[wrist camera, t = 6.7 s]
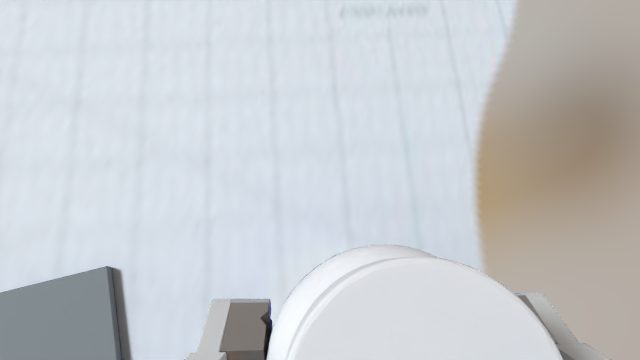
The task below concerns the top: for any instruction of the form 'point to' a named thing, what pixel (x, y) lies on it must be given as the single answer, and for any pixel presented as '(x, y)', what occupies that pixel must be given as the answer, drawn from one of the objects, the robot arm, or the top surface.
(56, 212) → the top surface
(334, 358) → the pill bottle
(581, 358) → the robot arm
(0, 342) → the mat
